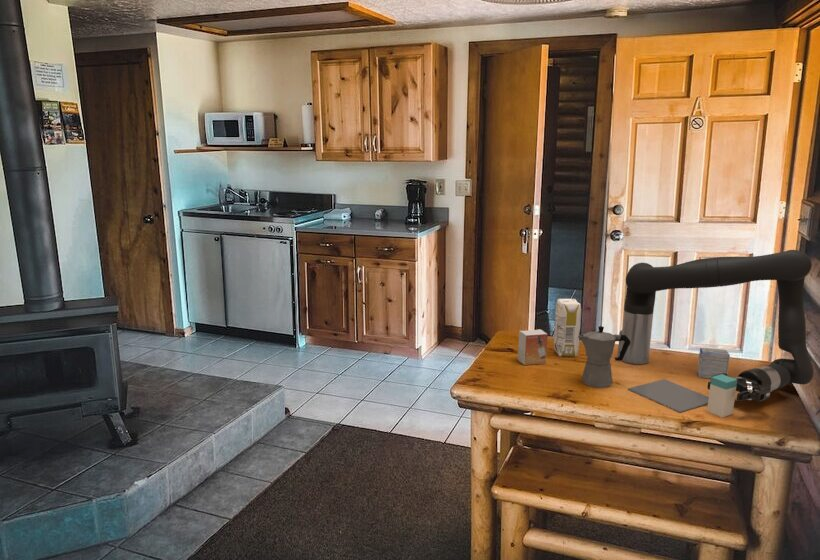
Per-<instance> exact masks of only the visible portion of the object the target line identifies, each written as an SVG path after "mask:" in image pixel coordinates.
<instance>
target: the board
mask: <svg viewBox="0 0 820 560" xmlns="http://www.w3.org/2000/svg"><path fill="white" fill-rule="evenodd" d="M627 391H630V392H631V393H634V394H636V393H637V394H636V395H638V394H639V396H641V397H643V396H644V397H643V398H645V397H646V399H647V398H649V399H648V400H650V399H651V400H650V401H652V400H654V401H656V402H658V403H657V404H659V403H660V404H659V405H661V404H662V405H661V406H663V405H665V406H667V407H666V408H668V407H669V408H668V409H670V408H671V409H670V410H672V409H673V411H674V412H677V413H679V414H681V413H684V412H688V411H691V410H694V409H697V407H698V408H700V406H701V407H704V406H708V400H709V395H705V394H703V393H700V392H697V391H696V390H693V389H691V388H687V387H685V386H682V385H680V384H678V383H675V382H673V381H670V380H667V379H665V378H662V379H659V380H654V381H651V382H648V383H644V384H640V385H636V386H633V387H632V386H631V387H629V388H627ZM654 401H653V402H654ZM656 402H655V403H656ZM665 406H664V407H665ZM693 408H694V409H693ZM690 409H691V410H690Z"/></svg>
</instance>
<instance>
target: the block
mask: <svg viewBox="0 0 820 560" xmlns="http://www.w3.org/2000/svg"><path fill="white" fill-rule="evenodd" d="M710 381H711V384H710V390H709V391H708V392H709V393H708V397H709V400H708V404H707V409H706V411H707V412H708V413H711V414H713V415H715V416H717V417H720V418H725V417H728V416H731V415H733V413H734V406H735V400H736V394H737V393H736V392H737V391H736V385H737V379H734V378H731V376H728V375H727V376H725V375H723V374H721V375H717V376H713V377H711V378H710Z"/></svg>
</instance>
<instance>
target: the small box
mask: <svg viewBox="0 0 820 560" xmlns="http://www.w3.org/2000/svg"><path fill="white" fill-rule="evenodd" d="M518 332H519V333H518V349H517V350H518V352H517V361H519V362H520V363H521V364H522V365H523V366H529V365H545V364H546V363H547V347H548V335H549V333H547V332H545V331H544V330H543V329H540V328H539V329H531V330H529V329H528V330H519V331H518Z"/></svg>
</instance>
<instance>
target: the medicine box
mask: <svg viewBox="0 0 820 560" xmlns="http://www.w3.org/2000/svg"><path fill="white" fill-rule="evenodd" d="M730 357H731V355H730V354H729V352H728V350H727V349H718V348H707V347H700V348H699V354H698V363H697V375H698V377H699V378H701V379H702V378H703V379H711V376H713V375H717V374H722V373H726V374H727V375H728V371H729V365H730V363H729V362H730Z"/></svg>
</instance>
